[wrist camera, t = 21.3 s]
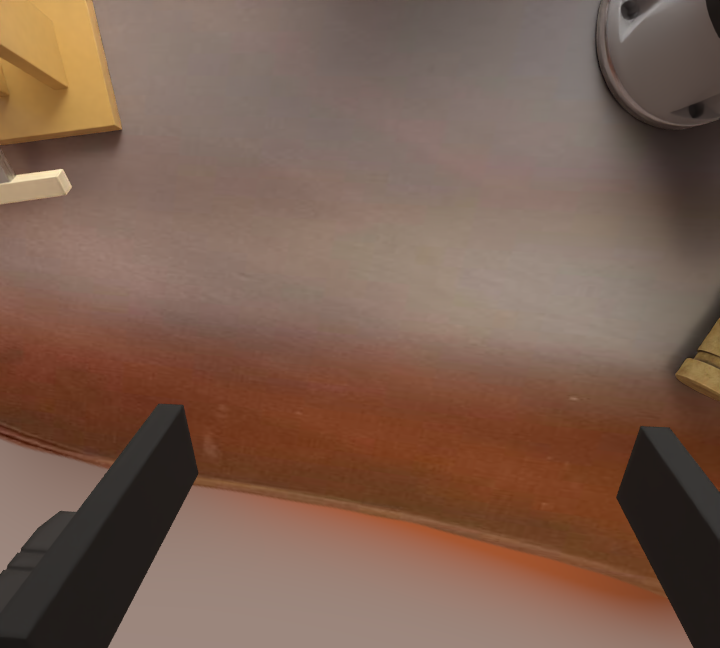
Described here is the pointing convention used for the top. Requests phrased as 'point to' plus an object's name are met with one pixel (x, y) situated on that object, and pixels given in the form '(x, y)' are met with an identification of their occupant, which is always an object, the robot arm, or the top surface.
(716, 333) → the gavel
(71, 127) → the switch bracket
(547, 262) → the top surface
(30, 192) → the switch lever
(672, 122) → the robot arm
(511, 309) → the top surface
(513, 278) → the top surface
